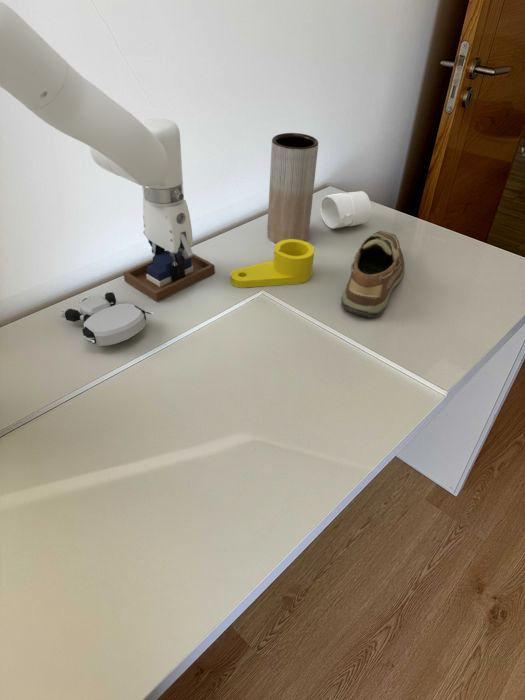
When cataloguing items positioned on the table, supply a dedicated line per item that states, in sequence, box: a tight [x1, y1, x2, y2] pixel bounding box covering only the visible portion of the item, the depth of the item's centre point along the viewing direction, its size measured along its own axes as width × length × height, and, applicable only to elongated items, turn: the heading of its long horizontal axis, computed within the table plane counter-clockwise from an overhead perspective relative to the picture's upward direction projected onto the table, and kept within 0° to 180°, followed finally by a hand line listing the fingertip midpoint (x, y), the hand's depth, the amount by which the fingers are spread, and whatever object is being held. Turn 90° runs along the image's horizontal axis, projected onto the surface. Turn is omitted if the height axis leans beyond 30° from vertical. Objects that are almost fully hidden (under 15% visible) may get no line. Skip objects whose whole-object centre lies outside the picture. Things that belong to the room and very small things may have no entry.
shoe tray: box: [123, 253, 216, 303], centre depth 110 cm, size 16×11×2 cm
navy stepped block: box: [146, 251, 193, 287], centre depth 109 cm, size 9×4×4 cm, turn 137°
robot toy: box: [58, 290, 155, 347], centre depth 96 cm, size 12×4×15 cm
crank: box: [230, 239, 315, 289], centre depth 111 cm, size 18×8×6 cm, turn 110°
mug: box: [320, 190, 372, 230], centre depth 132 cm, size 12×9×8 cm
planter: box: [266, 132, 319, 244], centre depth 120 cm, size 10×10×23 cm
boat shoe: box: [341, 230, 405, 319], centre depth 109 cm, size 11×29×11 cm, turn 162°
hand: (170, 273), depth 111 cm, fingers closed on navy stepped block, 4 cm apart
